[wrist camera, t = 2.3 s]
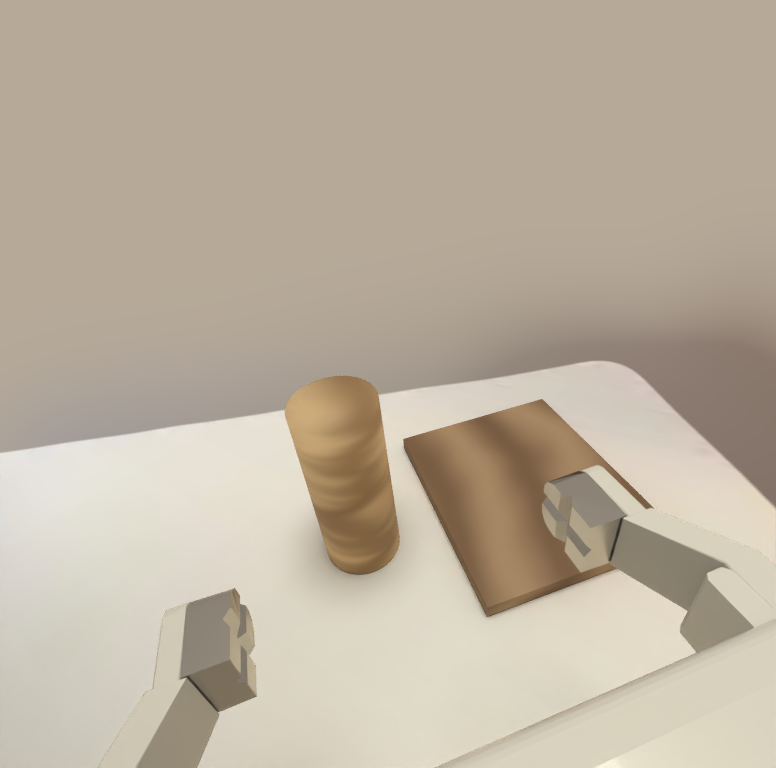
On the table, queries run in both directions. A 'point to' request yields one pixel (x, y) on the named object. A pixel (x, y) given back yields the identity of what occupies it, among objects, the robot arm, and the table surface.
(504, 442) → the board
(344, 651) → the table surface
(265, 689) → the table surface
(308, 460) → the oak roller
